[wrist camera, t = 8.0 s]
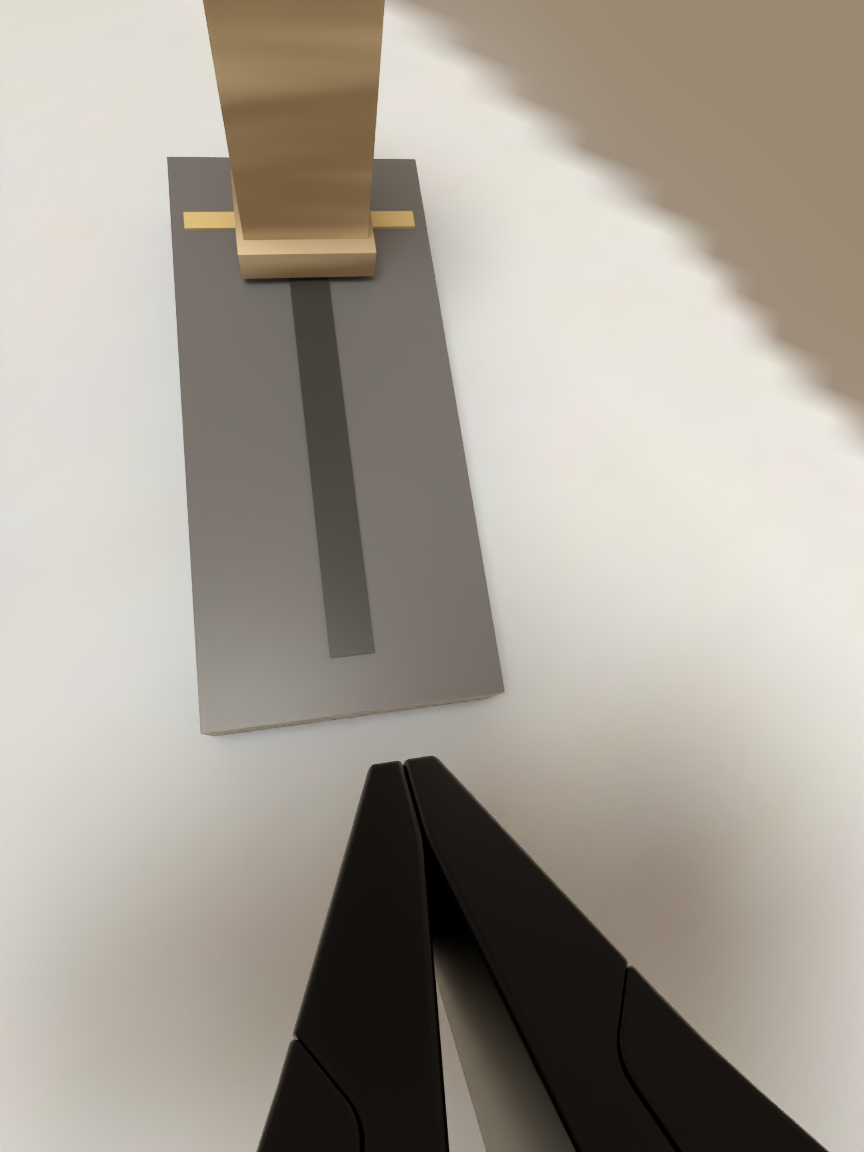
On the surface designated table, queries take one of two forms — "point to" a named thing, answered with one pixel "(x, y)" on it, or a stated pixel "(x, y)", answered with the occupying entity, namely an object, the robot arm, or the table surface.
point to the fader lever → (299, 131)
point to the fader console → (323, 474)
